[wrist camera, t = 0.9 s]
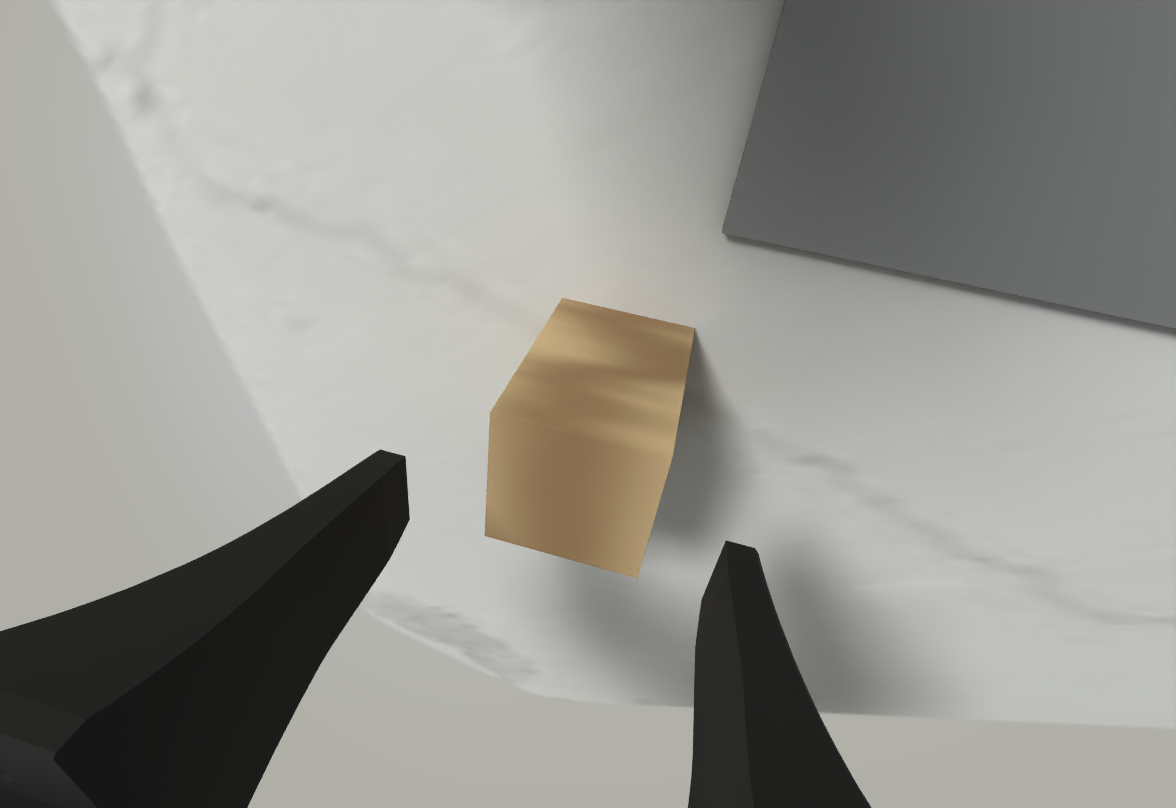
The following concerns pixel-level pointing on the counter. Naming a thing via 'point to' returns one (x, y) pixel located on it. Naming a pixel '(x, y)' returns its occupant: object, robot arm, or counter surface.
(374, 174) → the counter surface
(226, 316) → the counter surface
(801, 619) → the counter surface
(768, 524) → the counter surface
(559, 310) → the oak block
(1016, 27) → the mat
